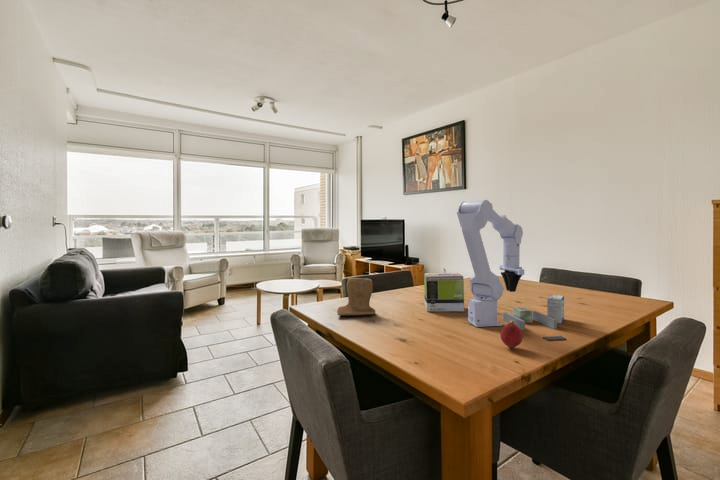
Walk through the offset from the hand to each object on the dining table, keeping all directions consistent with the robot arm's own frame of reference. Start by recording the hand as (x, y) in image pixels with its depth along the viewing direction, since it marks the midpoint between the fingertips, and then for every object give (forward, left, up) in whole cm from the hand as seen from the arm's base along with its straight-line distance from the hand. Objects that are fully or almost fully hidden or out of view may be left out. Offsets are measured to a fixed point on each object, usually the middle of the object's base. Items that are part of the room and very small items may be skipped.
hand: (511, 291), depth 131 cm
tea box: (-22, +13, -10) cm, 28 cm away
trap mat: (-1, -27, -9) cm, 29 cm away
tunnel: (0, -12, -9) cm, 15 cm away
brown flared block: (-59, +10, -10) cm, 61 cm away
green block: (0, -8, -10) cm, 12 cm away
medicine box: (+12, -9, -10) cm, 18 cm away
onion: (-18, -33, -10) cm, 39 cm away
